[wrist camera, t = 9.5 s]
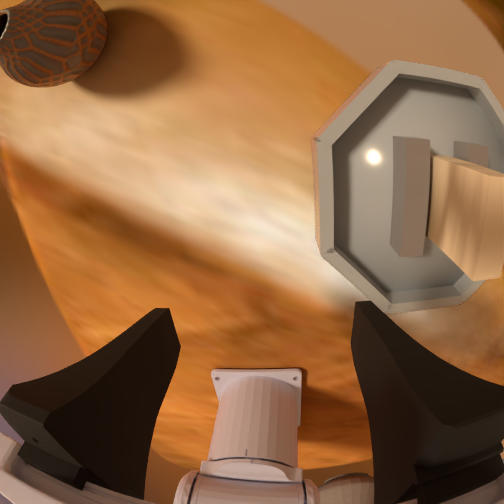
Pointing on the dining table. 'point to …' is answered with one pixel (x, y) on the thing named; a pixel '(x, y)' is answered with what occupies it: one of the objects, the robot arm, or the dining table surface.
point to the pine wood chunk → (467, 215)
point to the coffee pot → (348, 489)
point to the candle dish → (370, 178)
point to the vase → (50, 40)
